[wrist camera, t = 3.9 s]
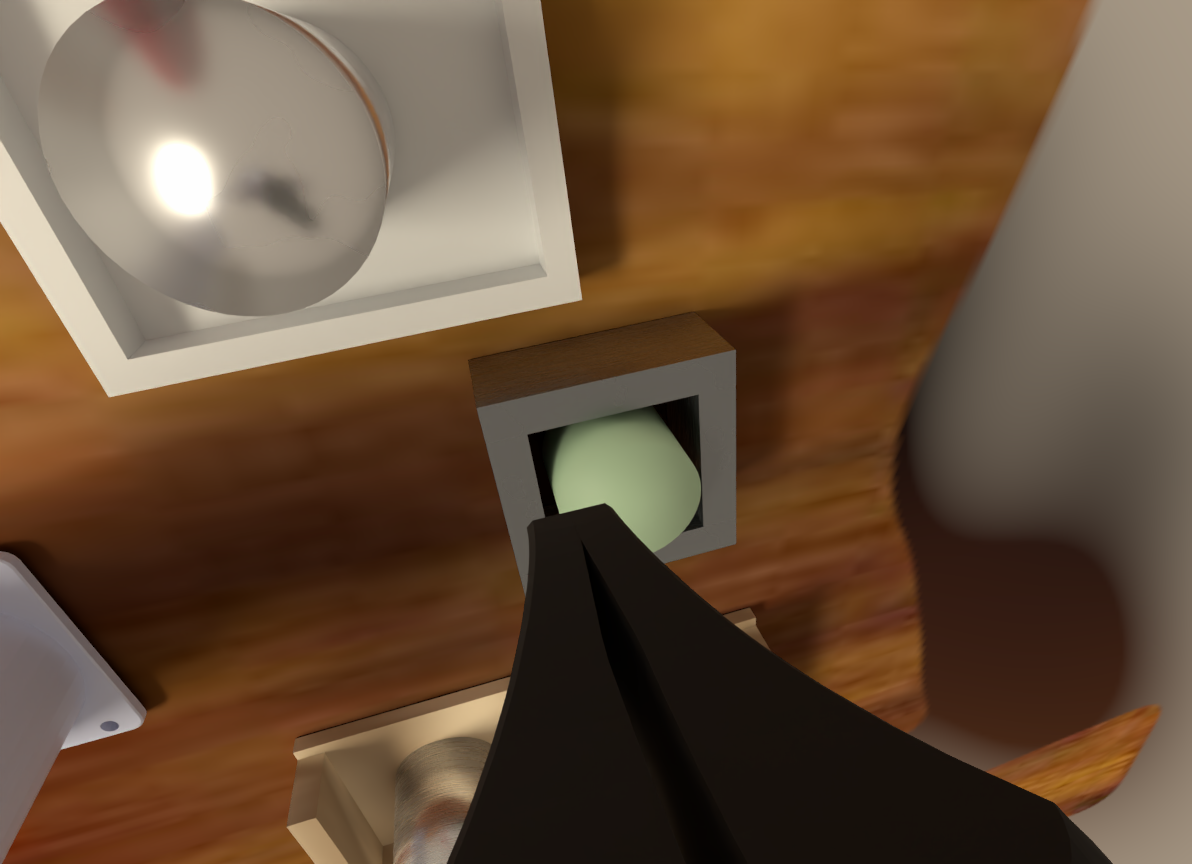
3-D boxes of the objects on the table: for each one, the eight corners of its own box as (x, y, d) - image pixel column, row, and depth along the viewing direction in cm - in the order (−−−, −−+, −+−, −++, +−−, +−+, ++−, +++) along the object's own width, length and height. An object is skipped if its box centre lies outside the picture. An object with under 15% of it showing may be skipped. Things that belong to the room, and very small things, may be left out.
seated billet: (411, 813, 28) (411, 980, 23) (381, 756, 25) (373, 930, 20) (510, 782, 28) (531, 938, 23) (489, 724, 26) (507, 885, 21)
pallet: (368, 850, 29) (363, 927, 27) (295, 738, 24) (281, 819, 22) (747, 729, 32) (777, 788, 29) (749, 607, 27) (784, 665, 24)
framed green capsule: (514, 539, 22) (526, 600, 19) (468, 360, 18) (476, 408, 16) (701, 491, 23) (736, 543, 20) (694, 311, 19) (735, 349, 17)
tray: (134, 369, 16) (109, 396, 15) (-145, -115, 11) (-224, -140, 10) (569, 281, 18) (581, 299, 16) (501, -176, 13) (512, -204, 11)
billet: (233, 246, 15) (141, 341, 10) (139, 30, 13) (-43, 10, 8) (417, 214, 16) (418, 287, 11) (361, 0, 13) (328, -35, 8)
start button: (552, 508, 21) (573, 575, 18) (531, 405, 19) (551, 463, 16) (667, 480, 21) (703, 540, 19) (659, 376, 19) (698, 427, 17)
